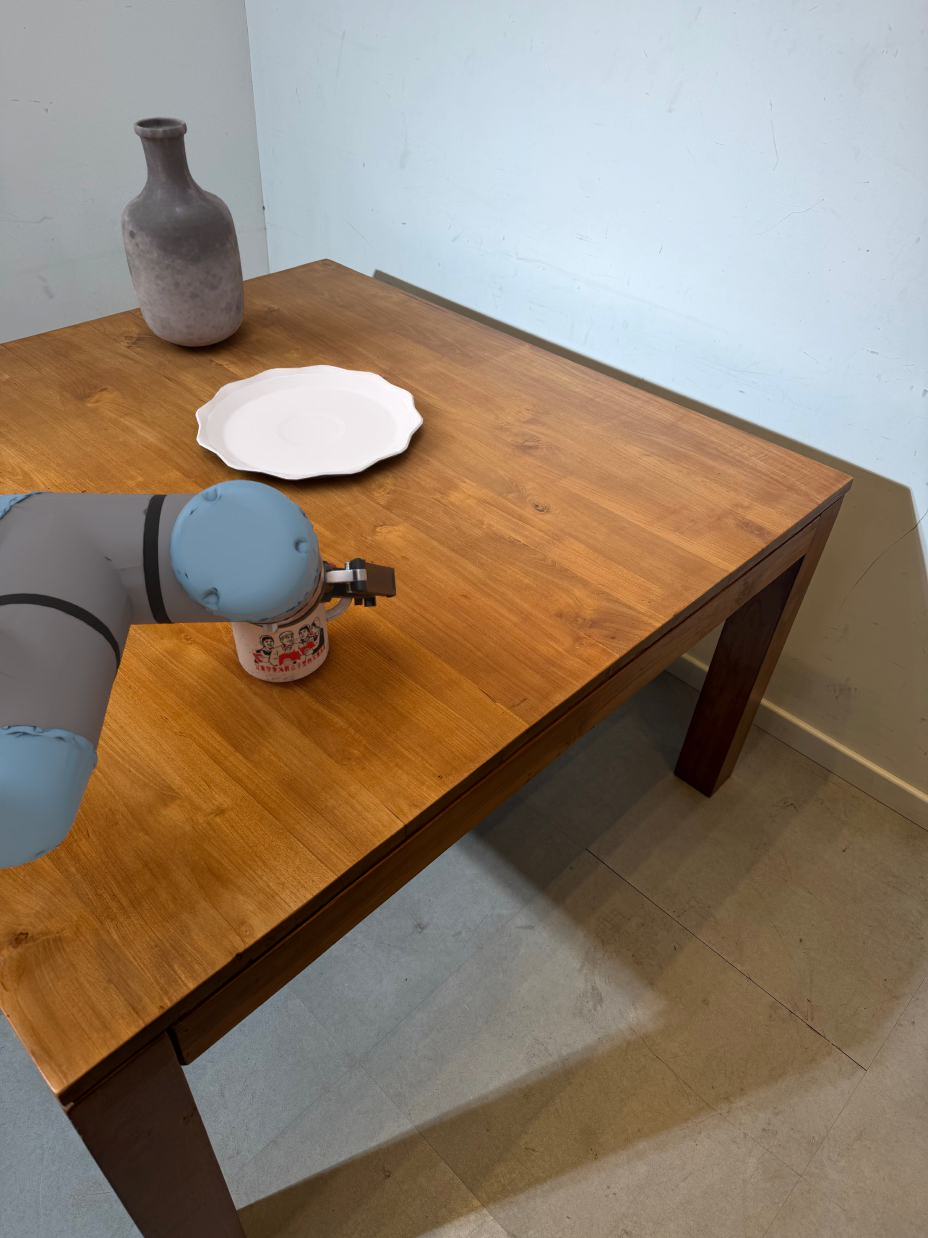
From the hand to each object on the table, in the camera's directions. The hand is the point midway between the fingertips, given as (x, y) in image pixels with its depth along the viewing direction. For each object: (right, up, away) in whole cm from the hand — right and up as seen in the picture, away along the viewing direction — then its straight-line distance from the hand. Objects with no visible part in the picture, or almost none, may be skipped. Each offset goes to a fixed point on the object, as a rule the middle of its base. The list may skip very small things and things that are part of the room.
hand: (292, 596), depth 80 cm
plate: (-4, +23, +32) cm, 40 cm away
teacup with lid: (0, -5, +1) cm, 5 cm away
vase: (-25, +42, +52) cm, 71 cm away
